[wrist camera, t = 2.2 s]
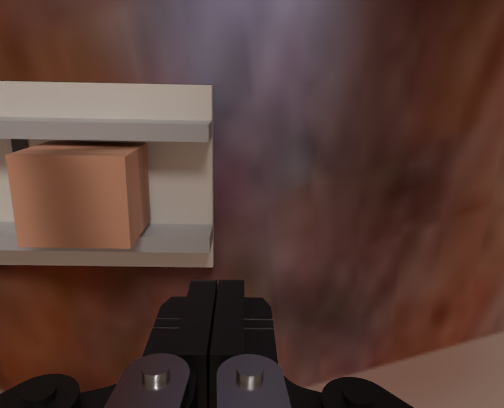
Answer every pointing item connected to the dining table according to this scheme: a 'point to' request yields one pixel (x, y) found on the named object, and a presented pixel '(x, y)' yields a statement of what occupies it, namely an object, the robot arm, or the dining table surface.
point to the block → (79, 194)
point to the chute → (126, 131)
